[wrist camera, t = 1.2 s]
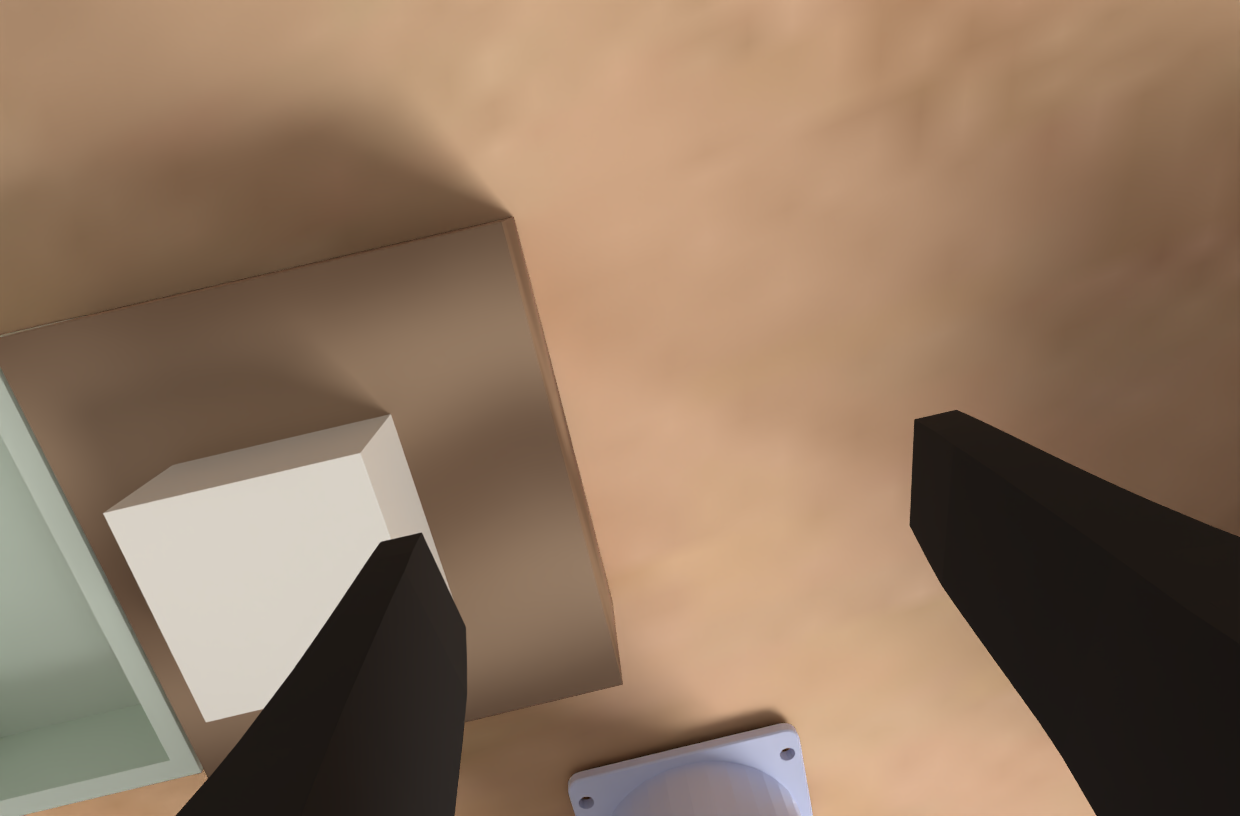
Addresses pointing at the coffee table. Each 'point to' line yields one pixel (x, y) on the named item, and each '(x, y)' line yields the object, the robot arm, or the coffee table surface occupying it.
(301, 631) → the cream block
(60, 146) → the coffee table surface
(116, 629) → the sage box
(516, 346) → the brown flat block
